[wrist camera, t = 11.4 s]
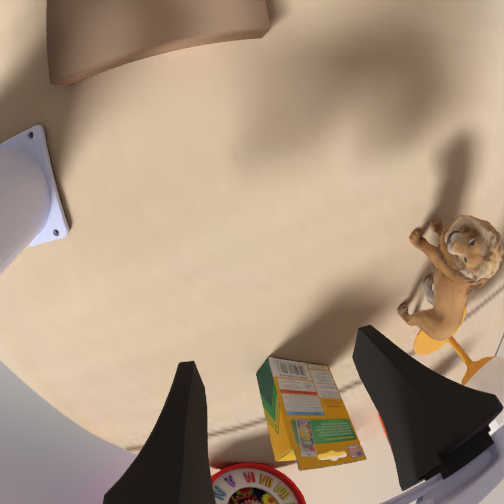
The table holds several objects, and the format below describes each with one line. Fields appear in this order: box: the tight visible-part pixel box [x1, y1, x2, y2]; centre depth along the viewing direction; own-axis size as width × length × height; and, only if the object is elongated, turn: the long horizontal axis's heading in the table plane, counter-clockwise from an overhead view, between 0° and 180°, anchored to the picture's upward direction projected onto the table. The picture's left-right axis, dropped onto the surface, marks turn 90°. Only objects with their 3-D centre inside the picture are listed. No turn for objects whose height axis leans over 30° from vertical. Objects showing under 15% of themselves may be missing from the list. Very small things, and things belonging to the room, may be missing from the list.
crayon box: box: [256, 357, 366, 471], centre depth 22 cm, size 7×3×12 cm, turn 65°
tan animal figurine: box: [398, 215, 504, 341], centre depth 19 cm, size 15×5×9 cm, turn 17°
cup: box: [414, 304, 504, 436], centre depth 22 cm, size 9×9×16 cm
